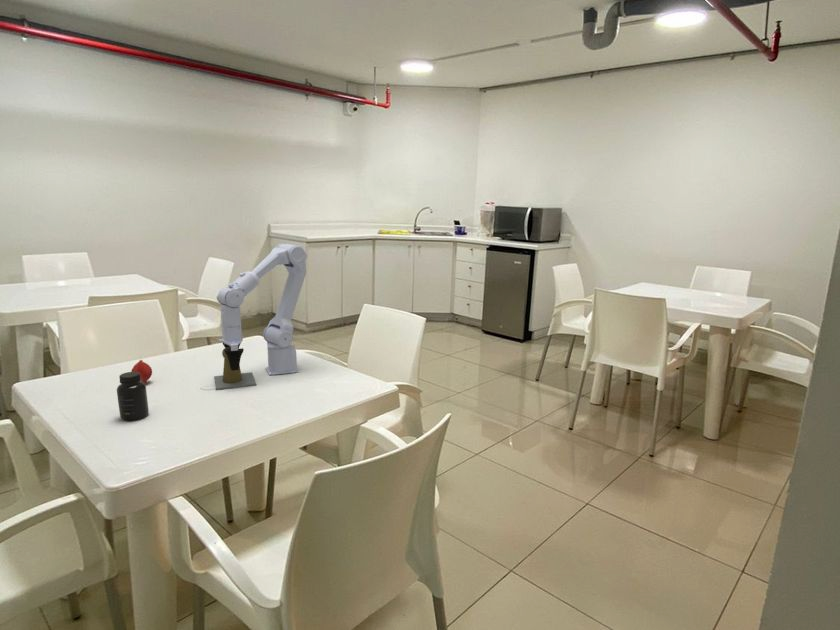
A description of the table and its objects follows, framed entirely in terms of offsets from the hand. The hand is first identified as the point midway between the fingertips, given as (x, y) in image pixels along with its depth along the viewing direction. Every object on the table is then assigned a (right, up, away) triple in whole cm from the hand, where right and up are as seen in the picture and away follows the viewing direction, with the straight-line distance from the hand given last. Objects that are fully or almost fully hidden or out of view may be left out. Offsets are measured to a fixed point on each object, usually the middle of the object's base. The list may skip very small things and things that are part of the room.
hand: (234, 366), depth 163 cm
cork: (-1, -5, +1) cm, 5 cm away
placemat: (0, -5, +1) cm, 5 cm away
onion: (-28, -5, -3) cm, 29 cm away
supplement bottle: (-17, -11, -27) cm, 33 cm away
